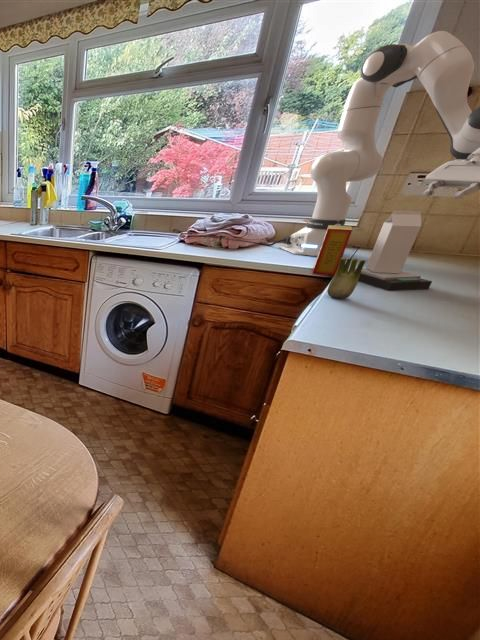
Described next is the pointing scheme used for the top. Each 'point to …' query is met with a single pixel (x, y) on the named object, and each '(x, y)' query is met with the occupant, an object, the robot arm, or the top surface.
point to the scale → (393, 280)
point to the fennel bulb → (345, 278)
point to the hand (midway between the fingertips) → (440, 196)
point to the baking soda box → (332, 249)
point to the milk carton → (395, 242)
